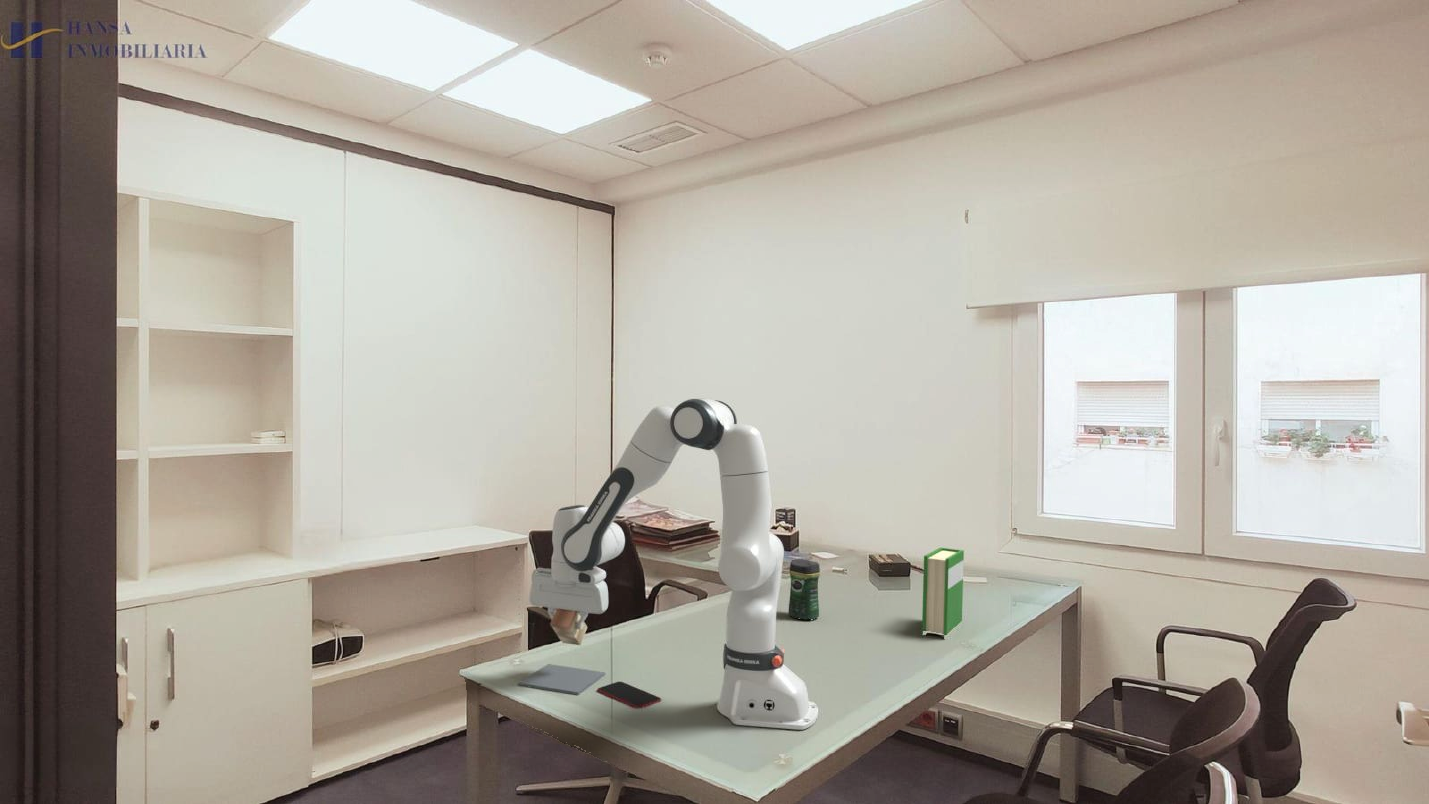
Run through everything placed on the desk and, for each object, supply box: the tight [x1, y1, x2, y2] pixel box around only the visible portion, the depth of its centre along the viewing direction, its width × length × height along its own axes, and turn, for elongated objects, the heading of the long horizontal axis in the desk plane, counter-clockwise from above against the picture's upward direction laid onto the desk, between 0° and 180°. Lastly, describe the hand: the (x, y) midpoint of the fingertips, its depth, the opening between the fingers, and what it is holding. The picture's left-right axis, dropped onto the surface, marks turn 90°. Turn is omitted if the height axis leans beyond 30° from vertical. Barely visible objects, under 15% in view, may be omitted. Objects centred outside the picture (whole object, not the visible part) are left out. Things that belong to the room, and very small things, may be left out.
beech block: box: [549, 609, 588, 646], centre depth 186 cm, size 5×5×9 cm
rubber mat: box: [517, 663, 606, 696], centre depth 184 cm, size 16×14×1 cm
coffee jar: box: [787, 558, 821, 620], centre depth 244 cm, size 10×8×19 cm
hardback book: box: [921, 547, 965, 635], centre depth 234 cm, size 18×7×24 cm, turn 148°
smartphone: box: [597, 681, 662, 709], centre depth 175 cm, size 7×1×15 cm
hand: (567, 627), depth 186 cm, fingers closed on beech block, 5 cm apart
